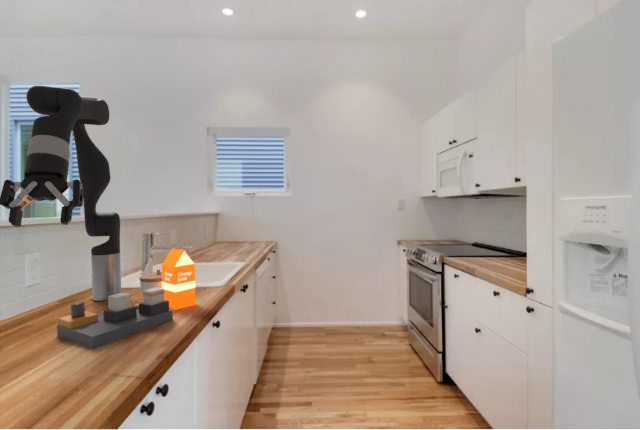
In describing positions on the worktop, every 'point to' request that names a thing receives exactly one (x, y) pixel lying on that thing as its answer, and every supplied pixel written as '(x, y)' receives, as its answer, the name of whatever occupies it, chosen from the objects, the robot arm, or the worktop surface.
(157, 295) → the breaker tagged
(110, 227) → the robot arm
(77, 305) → the cap
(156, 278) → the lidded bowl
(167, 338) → the worktop surface
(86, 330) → the breaker panel
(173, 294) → the orange juice
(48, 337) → the worktop surface
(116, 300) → the breaker plain
